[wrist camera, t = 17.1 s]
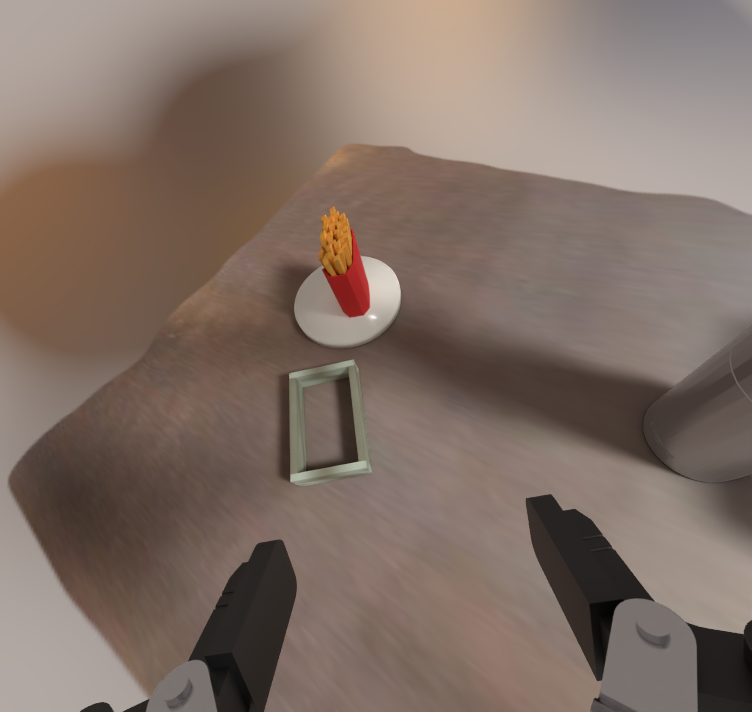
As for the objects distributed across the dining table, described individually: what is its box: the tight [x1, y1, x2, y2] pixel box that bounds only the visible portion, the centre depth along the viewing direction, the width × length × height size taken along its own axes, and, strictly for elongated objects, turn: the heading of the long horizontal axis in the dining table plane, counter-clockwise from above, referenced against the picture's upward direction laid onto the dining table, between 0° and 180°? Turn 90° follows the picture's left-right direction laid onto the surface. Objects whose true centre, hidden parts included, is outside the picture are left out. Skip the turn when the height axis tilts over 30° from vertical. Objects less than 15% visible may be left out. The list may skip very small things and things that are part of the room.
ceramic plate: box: [294, 256, 401, 349], centre depth 53 cm, size 16×16×2 cm
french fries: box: [319, 206, 370, 318], centre depth 47 cm, size 9×4×13 cm, turn 3°
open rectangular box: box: [289, 360, 372, 487], centre depth 44 cm, size 9×14×3 cm, turn 8°
